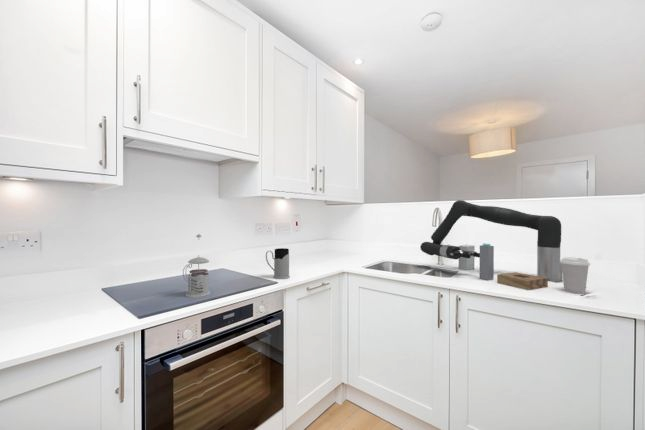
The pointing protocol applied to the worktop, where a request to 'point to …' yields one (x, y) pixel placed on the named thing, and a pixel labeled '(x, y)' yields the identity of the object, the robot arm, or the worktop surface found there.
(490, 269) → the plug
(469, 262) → the skincare box
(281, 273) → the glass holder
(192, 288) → the french press
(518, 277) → the brown wooden block
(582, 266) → the coffee cup
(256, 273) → the worktop surface
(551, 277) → the robot arm
